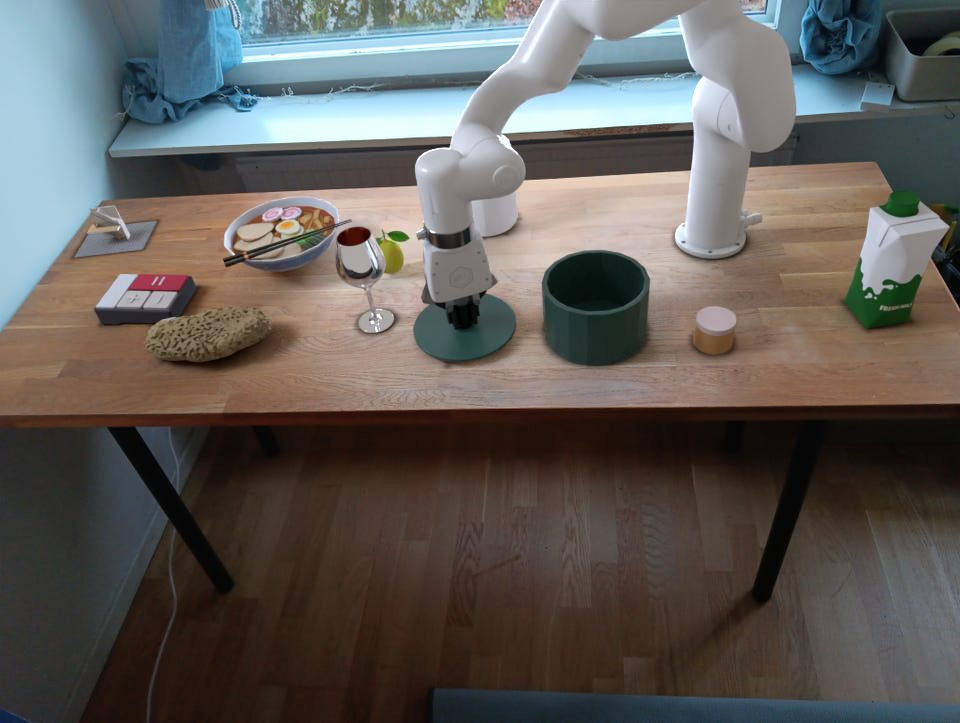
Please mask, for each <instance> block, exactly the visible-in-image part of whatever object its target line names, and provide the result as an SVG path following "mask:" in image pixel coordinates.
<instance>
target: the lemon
mask: <svg viewBox="0 0 960 723" xmlns="http://www.w3.org/2000/svg"><path fill="white" fill-rule="evenodd" d="M381 233H382V236H381V237H374V238H375V239H376V241H377V243H378V244H379V246H380V248H381V250H382V252H383V254H384V256H385V260H386V267H385V271H384V274H386V275H392V274H396V273H398V272H399V271H400V270H401V269H402V268H403V266H404V260H405V256H404V253H403V250H402V247H401V246H400V244H399V243H405V242H407V241H408V240H410V239H411V238H410V236H409V235H408V234H407V233H405V232H404V231H401V230H392V231H389V232H385V231H384V229H381ZM386 235H387V236H388V237H389V238H386Z"/></svg>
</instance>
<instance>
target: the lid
mask: <svg viewBox="0 0 960 723" xmlns="http://www.w3.org/2000/svg"><path fill="white" fill-rule="evenodd" d="M452 301H453V305H454V307H455V309H456V311H457V316H458V323H459V328H458V329H457V330H455V328H454V326H453V324H449V323H448V320H447V315H446V310H445V309H443V308H440V307H438V306H436V305H435V304H433V305H431V304H427V306H426V307H425V308H424V309H422V310H421V311H420V312H419V314H418V316H417V317H416V319H415V320H414V324H413V329H412V330H413V332H412V333H413V337H414V341H415V343H416V345H417V346H418V348H419V349H420V350H421V351H422V352H423V353H424V354H426V355H428V356H430V357H432V358H434V359H436V360H440V361H443V362H451V363H469V362H474V361H478V360H482V359H486V358H488V357H490V356H492V355H494V354H496V353H498V352H499V351H501V349H503V348H505V347H506V346H507V345H508V344H509V343H510V342H511V340H512V339H513V337H514V335H515V332H516V329H517V316H516V313H515V311H514V310H513V308H512V307H511V306H510V305H509V304H508V302H506V301H505V300H503V299H502V298H500V297H498V296H496V295H493V294H490V293H487V292H486V293H485V294H484V296H483V297H482V298H481V299H480V301H481V302H480V304H478V305H479V313H480V316H477V321H478V324H473V322H472V319H471V312H470V305H469V299H468V298H467V296H466V297H462V298H459V299H455V300H452Z"/></svg>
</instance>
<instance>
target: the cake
mask: <svg viewBox="0 0 960 723" xmlns="http://www.w3.org/2000/svg"><path fill="white" fill-rule="evenodd" d="M695 317H696V318H695V324H694V332H693V339H692V340H693V345H694V346H695V348H697V350H699V351H700V352H702V353H703V354H707V355H713V356H714V355H715V356H717V355H722V354H725V353H727V352H729V351H730V350H731V349H732V347H733V342H734V338H735V332H736V328H737V327H736V326H737V321H738V320H737V316H736V314H735V313H734V312H733V311H732V310H730V309H729V308H726V307H723V306H717V305H711V306H706V307H703V308H701V309H700V310H699V311H698V312H697V314H696V316H695Z"/></svg>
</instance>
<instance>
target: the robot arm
mask: <svg viewBox="0 0 960 723" xmlns="http://www.w3.org/2000/svg"><path fill="white" fill-rule="evenodd" d="M676 17H677V19H678V22H679V27H680V31H681V35H682V38H683V42H684V45H685V51H686V55H687V58H688V62H689V64H690V66H691V68H692V69H693V70H694V71H695V73H697V74H699V75H700V76H701V77H702V78H701V79H700V80H699V82H698V83H697V85H696V87H695V90H694V92H693V96H692V102H691V113H692V114H691V115H692V116H691V117H692V126H693V127H692V128H693V147H692V148H693V149H692V159H691V160H692V161H691V168H690V177H689V186H688V196H687V203H686V204H687V205H686V213H685V221H683V222H682V223H681V224H680V225H679V226H677V228H676V229H675V230H676V231H675V233H674V234H675V236H674V240H675V243H676V245H677V246H678V247H679V248H680V250H682V251H683V252H685V253H687V254H689V255H691V256H693V257H698V258H700V259H707V260H708V259H713V260H714V259H715V260H716V259H723V258H728V257H732V256H733V255H736V254H737V253H739V252H740V251H741V250H742V249H743V248H744V246H745V244H746V239H747V237H746V236H747V235H746V232H745V231H744V230H747V229H748V227H750V226H756V225H759V224H761V223H763V220H764V219H763V215H762V214H761V213H760V212H757V213H753V214H750V215H749V211H748V209H743V203H744V197H745V192H746V186H747V181H748V174H749V168H750V163H751V156H752V152H753V153H759V154H760V153H768V152H772V151H774V150H776V149H778V148H779V147H781V146H782V145H783V144H784V143H785V142H786V141H787V139H788V138H789V137H790V135H791V133H792V131H793V129H794V127H795V126H794V125H795V122H796V118H797V99H796V91H795V82H794V77H793V69H792V61H791V56H790V50H789V47H788V45H787V43H786V41H785V40H784V38H783V37H782V35H781V34H780V33H779V32H778V31H776V30H775V29H773V28H772V27H770V26H768V25H766V24H764V23H761V22H758V21H756V20H754V19H751V18H750V17H749V16H747V15H746V14H745V13H744V11H743V9H742V6H741V3H740V0H542V2H541V3H540V5H539V8H538V9H537V11H536V13H535V15H534V17H533V18H532V21H531V22H530V24H529V27H528V28H527V29H526V30H527V31H526V32H525V34H524V36H523V38H522V40H521V42H520V43H519V45H518V47H517V49H516V51H515V53H514V54H513V55H512V57H511V58H510V59H509V60H508V61H507V62H505V63H504V64H502V65H501V66H500V67H499V68H498V69H497V70H496V71H494V72H493V73H492V74H490V75H489V77H488V78H487V79H486V80H485V81H483V82H482V83H481V84H480V85H479V86H478V88H477V89H476V90H475V91H474V92H473V94H472V95H471V96H470V99H469V100H468V102H467V103H466V105H465V108H464V110H463V111H462V113H461V116H460V117H459V119H458V122H457V123H456V125H455V128H454V130H453V133H452V136H451V140H450V146H451V147H450V146H449V147H438V148H434V149H429V150H428V151H426V152H424V153H422V154H421V155H420V156H418V158H417V159H416V162H415V165H414V173H415V174H414V175H415V179H416V185H417V191H418V197H419V202H420V203H419V204H420V208H421V214H422V219H423V222H422V225H423V226H422V229H420V230H418V231H416V232H415V234H416V238H417V240H418V241H422V240H423V243H422V244H423V246H422V262H423V272H424V274H423V275H424V280H425V284H424V286H423V289H422V293H421V295H420V299H421V301H422V303H423V304H425V305H430V304H431V305H433V304H435V305H436V306H438V307H440V308H443V309H445V310H446V315H447V320H448V323H449V324H453V326H454V328H455V330H457V329H458V328H459V323H458V316H457V311H456V309H455V307H454V305H453V301H452V300H455V299H459V298H462V297H466V296H467V298H468V299H469V305H470V312H471V319H472V322H473V324H478V321H477V316H480V313H479V305H478V304H480V302H481V301H480V299H481V298H482V297H483V296H484V294H485V293H486V294H487V292H488V290H491V289H492V288H493V287H494V286H495V285H497V284H498V279H497V278H496V276H495V275H494V274H493V272H492V271H491V268H490V262H489V258H488V253H487V249H486V245H485V242H484V238H483V237H482V236H481V234H480V232H479V231H478V230H477V229H476V228H475V225H474V217H473V209H472V201H475V200H484V199H493V198H500V197H504V196H507V195H509V194H512V193H513V192H515V191H516V192H517V190H519V189H520V187H521V186H522V185H523V183H524V182H525V179H526V174H527V171H526V169H527V168H526V164H525V162H524V159H523V158H522V156H521V155H520V154H519V153H518V152H517V151H516V150H515V149H514V148H513V147H512V146H511V147H510V146H509V145H508V144H507V143H506V142H505V141H504V140H503V139H502V138H501V137H500V136H499V135H500V133H501V134H502V132H503V130H504V128H505V126H506V124H507V122H508V121H509V119H510V118H511V117H512V115H513V114H514V112H516V110H517V109H518V108H519V107H520V106H521V105H522V104H524V103H526V102H527V101H529V100H532V99H533V98H537V97H540V96H544V95H551V94H556V93H561V92H563V91H565V89H566V88H567V87H568V86H569V85H570V82H571V81H572V78H574V75H575V74H576V72H577V70H578V68H579V66H580V65H581V62H582V61H583V59H584V57H585V56H586V54H587V52H588V50H589V49H590V47H591V45H592V43H593V42H594V40H595V38H596V36H597V37H598V38H601V39H603V40H606V41H609V42H619V41H623V40H626V39H630V38H633V37H636V36H638V35H641V34H643V33H645V32H647V31H649V30H651V29H653V28H656V27H658V26H660V25H662V24H664V23H666V22H668V21H670V20H672V19H674V18H676Z"/></svg>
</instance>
